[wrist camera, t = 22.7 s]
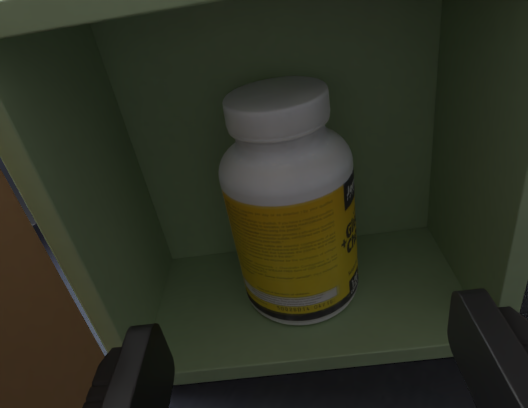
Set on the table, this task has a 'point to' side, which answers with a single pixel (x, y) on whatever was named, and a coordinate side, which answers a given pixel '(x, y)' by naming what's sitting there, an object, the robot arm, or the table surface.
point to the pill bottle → (290, 200)
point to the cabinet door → (38, 322)
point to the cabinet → (219, 140)
